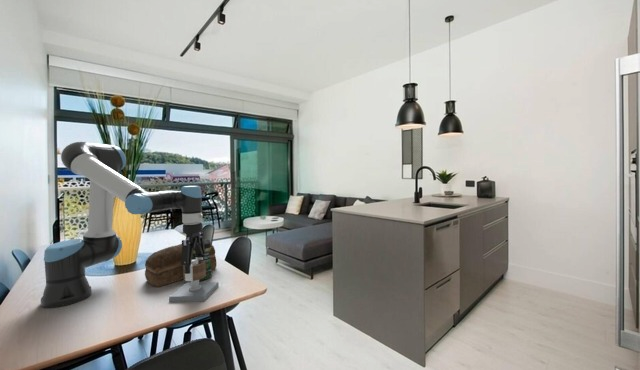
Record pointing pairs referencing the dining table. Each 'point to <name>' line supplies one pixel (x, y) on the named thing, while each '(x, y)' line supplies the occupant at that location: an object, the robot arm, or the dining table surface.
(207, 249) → the coffee jar
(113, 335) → the dining table surface
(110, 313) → the dining table surface
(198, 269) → the ring
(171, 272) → the bread
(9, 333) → the dining table surface
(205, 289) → the post block
